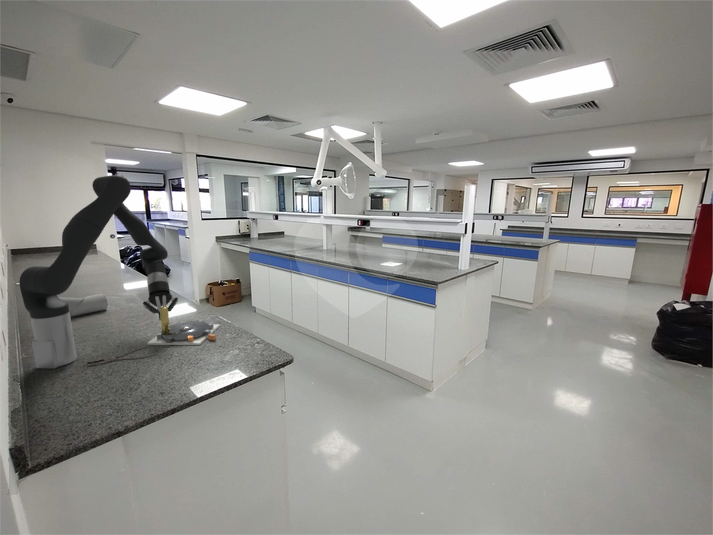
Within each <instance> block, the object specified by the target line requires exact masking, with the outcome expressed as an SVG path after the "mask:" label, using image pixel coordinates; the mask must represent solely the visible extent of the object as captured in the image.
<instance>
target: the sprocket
mask: <svg viewBox="0 0 713 535" xmlns="http://www.w3.org/2000/svg"><path fill="white" fill-rule="evenodd" d="M160 319H161V321H160V326H161V328H160V329H161V332H159V333H156V337H157V339H158V338H162V339H164V340H166V342H167V343H171V342H173V341H185V340H188V341H193V339H195V338H198V337H201V336H203V335H209V334H210V333H211V331H210V328H213V324H214V323H207V322H206V321H204V320H203V319H199V320H194V321H185V320H183V321H179V323H178V322H177V323H174V324H172V325H170V317H169V311H168V306H166V307H163V306H161V308H160Z"/></svg>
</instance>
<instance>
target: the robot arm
mask: <svg viewBox="0 0 713 535" xmlns="http://www.w3.org/2000/svg"><path fill="white" fill-rule="evenodd" d="M92 190H93V191H94V193H95V195H96V196H97V197H96V199H94V200H93V201H92V202H91V203H89V204H87V205H85V207H83V208H82V209H80V210H79V211H77V213H75V214H74V215H73V216H72V218H70V220H69V221H68V222H67V224H66V225H65V227H64V228H63V230H62V235H61V244H62V245H61V251H60V253H59V254H58V256H57V257H56V259H55V260H54V261H53V262H52V263H51V265H50V266H42V265H38V266H37V265H36V266H30V267H28V268H26V269H24V270H23V271H22V272H21V274H20V277H19V280H18V281H19V290H20V294H21V298H22V301H23V305H24V308H25V309H26V311H27V313H29V317H30V322H31V328H32V334H33V338H34V339H33V340H32V341H31V346H32V353H33V359H34V363H35V368H36V369H57V368H59V367H62V366H65V365H68V364H70V363H72V362H74V361H76V359H77V358H78V357H77V353H76V352H77V351H76V345H75V339H74V331H73V326H72V319H71V318H72V317H70V311H69V305H68V304H67V303H66V302H64V301H62V300H61V299H59V298H58V297H59V295H61V294H64V293H65V292H66V291H67V290H68V289H69V288H70V286H71V285H72V283H73V282H74V280H75V277H76V275H77V274H78V271H79V270H80V267H81V265H82V263H83V262H84V260H85V258H86V257H87V255H88V254H89V252H90V250H91V249H92V247H93V245H94V244H96V243H95V242H97V240H98V239H99V237H100V236H101V234H102V232H103V231H104V229H105V227H106V226H107V225H108V223H109V222H110V220H112V219H111V218H112V217H113V216H115V217H116V218H117V219H118V221H120V223H121V224H122V225H123V227H124V228H125V230H126V231H127V232H128V234H129V236H130V237H131V238H132V240H133V241H134V243H135V245H137V246H139V247H141V246H142V247H146V246H149V247H147V248H144V249H141V250H140V252H139V258H140V260H141V262H142V263H143V265H144V268H145V270H146V276H147V278H146V281H147V289H148V298H147V300H146V301H143V302H142V307H143V308H145V309H146V310H148V311H149V312H151V313H152V314H157V315H158V321H159V322H161V319H160V308H161V307H168V313H170V312H172V310H173V309H174V308H175V306H176V304H177V303H178V302H179V298H178V297H173V295H172V294H171V291H170V285H169V279H168V276H167V270H166V266H165V264H163V263H162V262H161V261H164V260H166V259H167V258H168V254H169V253H168V250H167V249H166V247H165V246H163V244H161V243H160V242H159V241H158V240H157V239H156V238H155V237H154V236H153V235H152V233H151V231H150V230H149V228H148V226H147V225H146V223H145V222H144V221H143V220H142V219H141V218H140V217H138V216H137V215H136V214H135V213H134V212H132V211H131V210H130V209H129V208H128V207H127V206H126V204H124V202H125V201H126V200H127V198H128V197H129V196H130V194H131V192H132V187H131V183H130V181H129V180H128V179H127V178H126V177H125V176H122V175H120V174H119V175H116V174H114V175H113V174H112V175H111V174H110V175H105V176H104V175H103V176H99V177H96V178H95V179H94V180H93V181H92ZM169 303H170V304H169ZM167 305H168V306H167Z"/></svg>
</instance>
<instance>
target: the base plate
mask: <svg viewBox="0 0 713 535" xmlns="http://www.w3.org/2000/svg"><path fill="white" fill-rule="evenodd" d="M212 324H213V328H210V331H211V333H210V334H209V335H203V336H201V337H198V338H195V339H193V341H188V340H185V341H173V342H171V343H167V342H166V340H164V339H162V338H158V339H157V336H154V338H152V339H151V340H149V341H148V342H147V346H161V345H162V346H200V345H202V344H203V343H204V342H205V341H206V340H209V341H215V340H217V335H216V334H213V333H215V331H216V330H218V329H219V328H220V326H221V325H220V324H217V323H216V324H215V323H212Z"/></svg>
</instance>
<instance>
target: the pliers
mask: <svg viewBox="0 0 713 535" xmlns="http://www.w3.org/2000/svg"><path fill="white" fill-rule="evenodd" d="M154 346H155V345H147V346H143V347H138V348H135V349H133V350H130V351H128V352H124V353H122V354H119V355H114V356H108V357H104V358H99V359H95V360H90V361H87V362H86V364H87V365H86V368H89V367H95V366H101V365H105V364H109V363H113V362H118V361H127V360H128V361H129V360H140V359H146V358H150V357H154V356H157V354H156V353H153V354H149V355H145V356H137V357H126V356H127V355H129V354H132V353H134V352H137V351H139V350H143V349H147V348H148V349H150V348H154ZM124 356H125V357H124Z"/></svg>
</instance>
